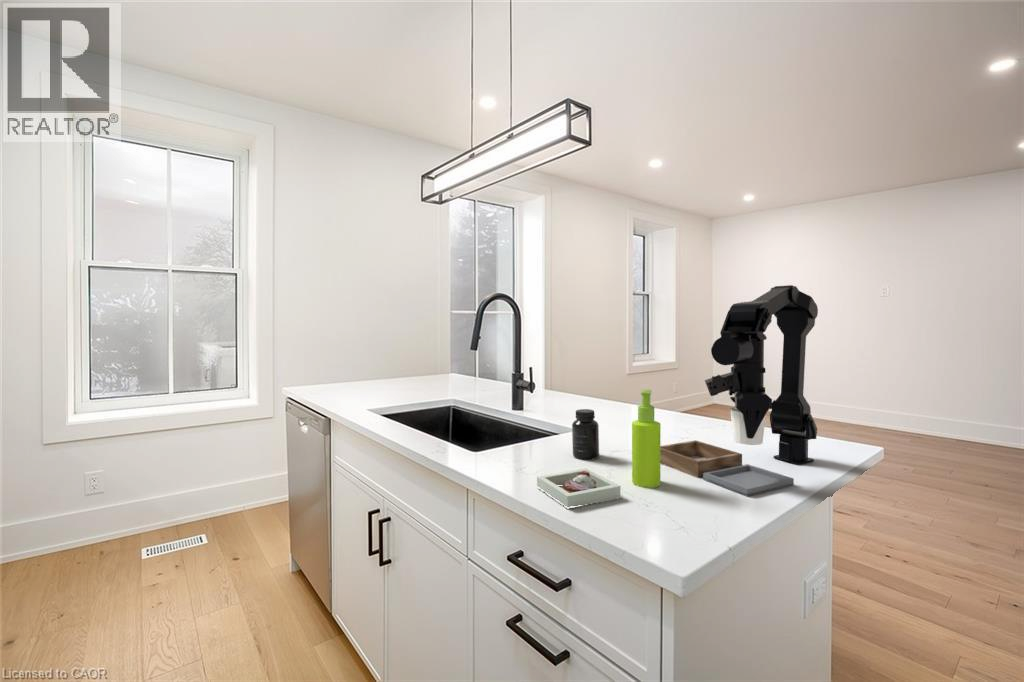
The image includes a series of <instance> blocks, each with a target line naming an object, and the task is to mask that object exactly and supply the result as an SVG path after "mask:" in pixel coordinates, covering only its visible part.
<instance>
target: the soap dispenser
mask: <svg viewBox="0 0 1024 682" xmlns="http://www.w3.org/2000/svg"><path fill="white" fill-rule="evenodd" d="M651 393H652V389H642V390H641V392H640V394H641V404H639V405H638V406H637V420H632V421H631V470H632V471H631V479H632V480H631V482H632V484H633V485H635V486H638V487H641V488H657V487H660V485H661V463H660V446H661V422H659V421H655V406H654V405H652V404H651V395H652V394H651Z"/></svg>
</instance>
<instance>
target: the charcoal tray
mask: <svg viewBox="0 0 1024 682" xmlns="http://www.w3.org/2000/svg"><path fill="white" fill-rule="evenodd" d="M702 479H703V481H705V482H707V483H710V484H714V485H716V486H719V487H721V488H724V489H726V490H730V491H732V492H734V493H736V494H739V495H741V496H745V497H752V496H755V495H760V494H764V493H769V492H772V491H775V490H776V491H777V490H781V489H785V488H789V487H794V484H795V482H794V478H793V477H791V476H790V477H789V476H787V475H784V474H780V473H777V472H775V471H771V470H767V469H765V468H761V467H759V466H756V465H751V464H748V463H746V464H742V465H741V466H736V467H731V468H726V469H721V470H716V471H711V472H706V473H703V477H702Z"/></svg>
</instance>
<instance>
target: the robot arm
mask: <svg viewBox="0 0 1024 682" xmlns="http://www.w3.org/2000/svg"><path fill="white" fill-rule="evenodd" d="M818 314H819V309H818V305H817V303H816V302H815V300H814V298H813V296H811V295H809V294H806V293H805V292H802V291H800V290H799V288H798V287H797V286H796V285H792V284H789V285H775V286H773V287H771V288H770V290H768V291H767V292H765V293H763V294H762V295H760V296H759V297H757V298H755V299H754V300H751V301H742V302H741V301H740V302H736V303H733V304H732V305H731V306H730V307H729V310H728V311H727V314H726V315H725V319H724V321H723V324H722V328H721V330H720V337H719V338H717V339H716V340H715V341H714V342H713V344H712V347H711V348H710V350H711V351H710V352H711V357H712V358H713V360H714V361H715V362H716V363H717V364H719V365H722V366H731V365H732V366H731V367H730V372H727V373H724V374H717V375H714V376H713V375H712V376H711V377H710V378H708V379H705V380H704V383H705V385H706V388H707V390H708V393H709V396H710V397H713V396H717V395H718V394H721V393H724V392H727V391H728V395H729V396H730V397H729V398H730V400H731V401H732V402H733V403H734V407H736V408H737V409H738V410H739V411H740V412H741V413H742V414H743V419H744V424H745V430H746V435H747V438H751V439H752V438H753V437H754V435H755V434H756V432H757V430H758V428H759V426H760V424H761V422H762V420H763V418H764V416H765V415H767V413H768V411H769V410H771V411H770V413H769V422H770V429H771V433H772V434H773V435H778V437H779V441H778V454H777V455H776V454H775V455H773V456H772V457H773V458H774V459H777V460H780V461H784V462H787V463H790V464H795V465H802V464H806V463H807V464H808V463H811V462H815V459H814V458H813V457H809V440H817V436H818V435H817V434H818V427H817V424H816V423H815V420H814V418H813V416H812V414H811V412H812V411H811V406H810V404H809V402H808V401H807V399H806V398H805V396H804V387H805V369H806V349H807V348H806V347H807V346H806V345H807V344H806V343H807V341H806V340H807V336H808V335H809V333H810V332H811V331H812V329H813V328H814V327H815V325H816V319H817V317H818ZM773 315H774V317H775V318H776V325H777V327H778V329H779V330H780V331H781V334H782V335H783V342H782V345H783V346H782V363H781V365H782V366H781V383H780V384H781V385H780V394H779V395H778V396H777V398H776V399H774V400H773V399H772V398H771V397H770V396H769V395H768V394H767V393H766V387H765V386H764V382H765V381H764V380H765V378H764V376H765V375H764V374H766V367H764V365H765V364H764V363H765V358H764V357H765V356H764V355H765V353H764V352H765V347H764V346H765V341H766V340H767V336H766V334H765V332H766V331H767V328H768V327H769V326H770V324H771V323H772V322H773V321H772V319H773ZM733 395H734V396H733Z"/></svg>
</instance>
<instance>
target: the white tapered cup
mask: <svg viewBox="0 0 1024 682" xmlns="http://www.w3.org/2000/svg"><path fill="white" fill-rule="evenodd" d="M766 415H767V414H766ZM766 415H765V416H764V418H763V420H762V422H761V424H760V426H759V428H758V430H757V432H756V434H755V435H754V437H753V438H752V439H751V438H747V435H746V430H745V424H744V419H743V414H742V413H741V412H740V411H739V410H738V409H737V408H736V407H735V406H734V407H731V408H730V417H731V431H732V440H733V442H735V443H736V444H741V445H748V446H759V445H762V444H764V443H763V442H764V434H765V425H766Z"/></svg>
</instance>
